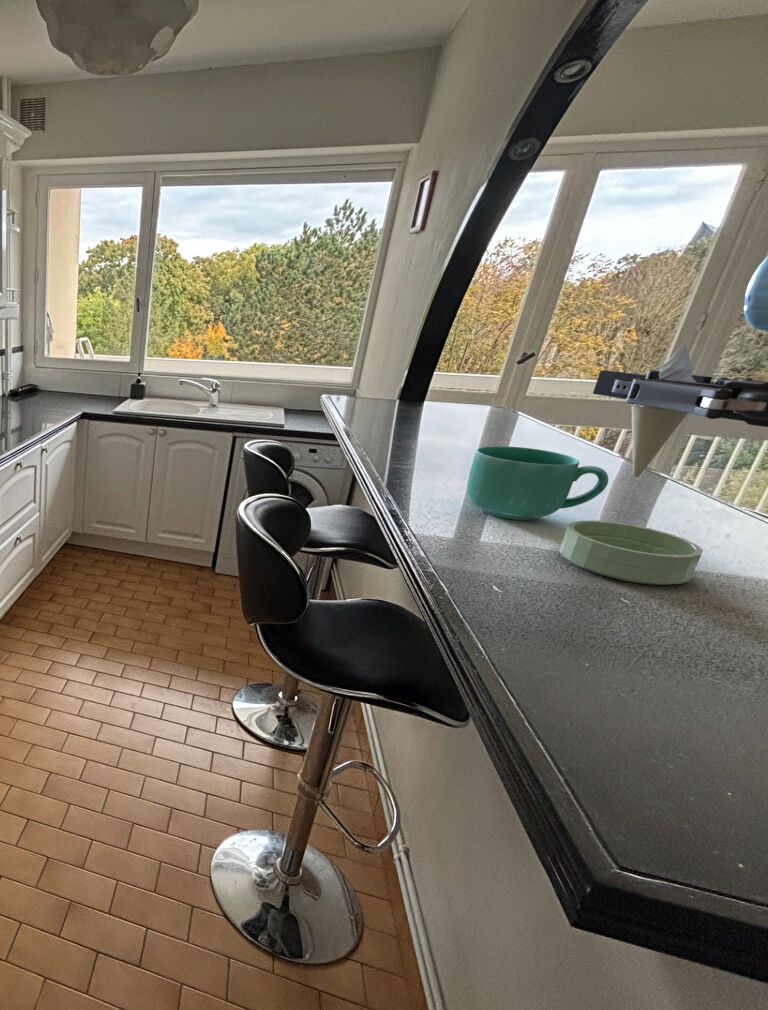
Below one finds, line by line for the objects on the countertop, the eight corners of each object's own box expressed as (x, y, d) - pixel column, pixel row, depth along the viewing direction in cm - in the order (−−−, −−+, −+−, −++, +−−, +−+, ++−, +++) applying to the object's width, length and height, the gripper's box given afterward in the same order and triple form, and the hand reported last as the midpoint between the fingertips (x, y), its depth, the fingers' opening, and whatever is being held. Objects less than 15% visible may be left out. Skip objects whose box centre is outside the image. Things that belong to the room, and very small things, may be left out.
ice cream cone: (652, 484, 65) (704, 342, 60) (597, 473, 69) (641, 340, 64) (676, 478, 67) (729, 340, 61) (621, 468, 71) (666, 338, 66)
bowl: (670, 560, 76) (683, 531, 75) (704, 597, 67) (719, 565, 65) (551, 541, 82) (561, 514, 81) (567, 573, 73) (578, 543, 71)
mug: (456, 515, 92) (473, 456, 89) (463, 496, 102) (479, 442, 98) (595, 539, 83) (619, 474, 80) (589, 516, 92) (611, 457, 89)
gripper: (748, 461, 49) (537, 413, 71) (964, 462, 49) (686, 414, 71) (791, 368, 47) (557, 348, 68) (1019, 370, 46) (713, 349, 68)
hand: (624, 382), depth 70 cm, fingers closed on ice cream cone, 5 cm apart
